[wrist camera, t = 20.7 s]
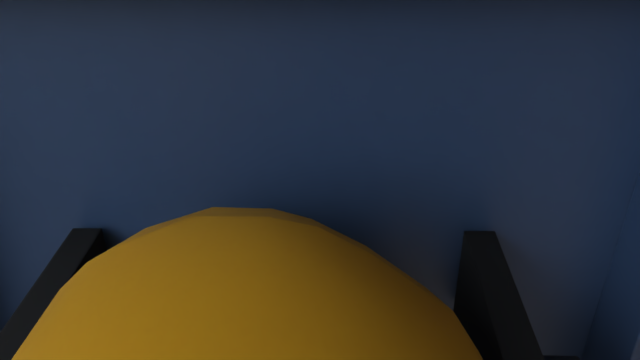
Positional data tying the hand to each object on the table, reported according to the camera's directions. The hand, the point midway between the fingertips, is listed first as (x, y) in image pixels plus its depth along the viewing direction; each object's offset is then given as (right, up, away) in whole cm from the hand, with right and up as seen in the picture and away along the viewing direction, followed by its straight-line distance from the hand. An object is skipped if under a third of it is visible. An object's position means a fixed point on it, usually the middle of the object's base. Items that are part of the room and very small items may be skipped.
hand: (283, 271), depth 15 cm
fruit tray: (0, 0, +1) cm, 1 cm away
